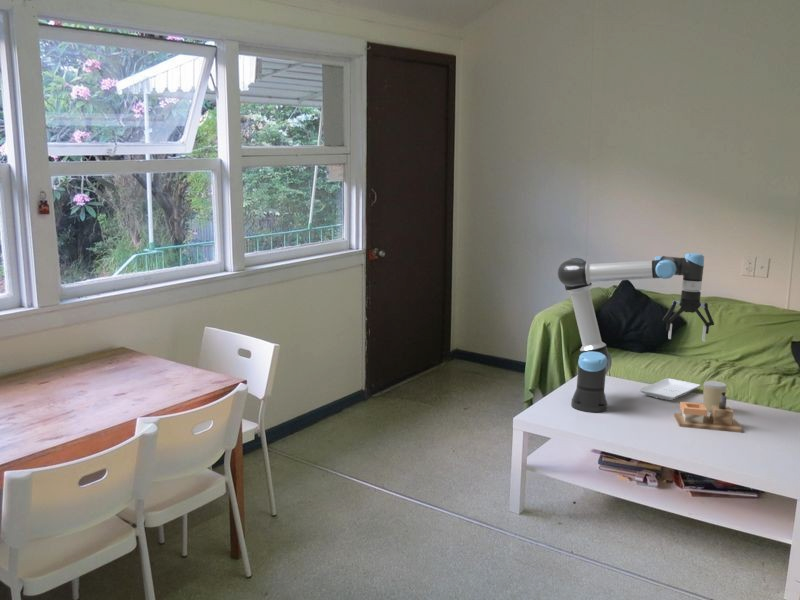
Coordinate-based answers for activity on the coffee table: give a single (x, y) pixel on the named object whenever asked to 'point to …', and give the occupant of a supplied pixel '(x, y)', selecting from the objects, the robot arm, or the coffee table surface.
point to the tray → (668, 384)
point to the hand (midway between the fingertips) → (686, 339)
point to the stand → (711, 419)
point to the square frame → (693, 408)
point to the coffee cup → (713, 393)
